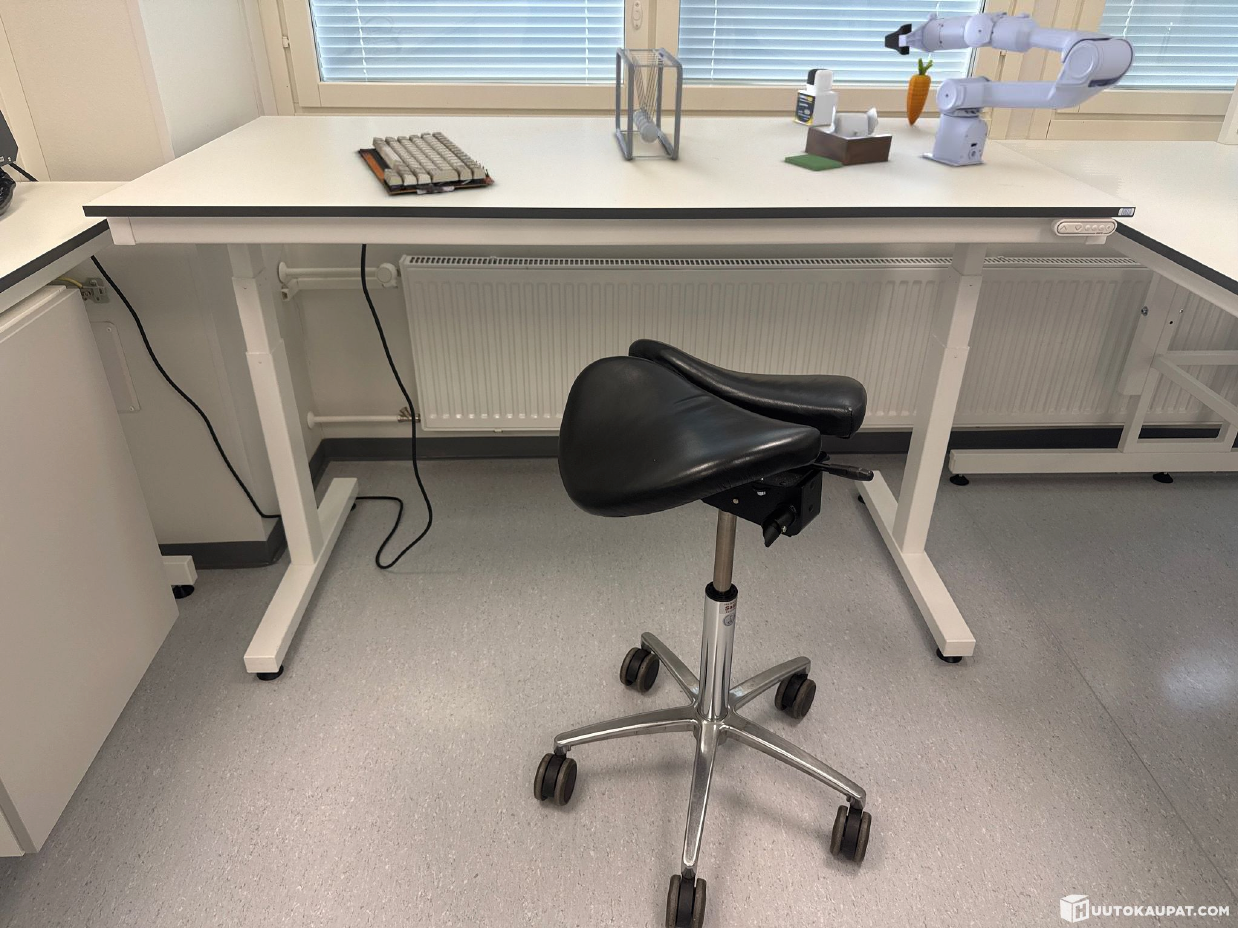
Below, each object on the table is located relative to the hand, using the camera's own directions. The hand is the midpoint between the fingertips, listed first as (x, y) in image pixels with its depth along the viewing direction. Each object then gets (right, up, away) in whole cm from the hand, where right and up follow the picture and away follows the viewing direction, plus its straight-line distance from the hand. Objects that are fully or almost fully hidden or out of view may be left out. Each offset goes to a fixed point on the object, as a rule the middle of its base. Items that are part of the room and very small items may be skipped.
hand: (899, 39), depth 174 cm
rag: (-21, -30, -9) cm, 38 cm away
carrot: (+12, -8, +27) cm, 30 cm away
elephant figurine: (-11, -23, +2) cm, 26 cm away
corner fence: (-12, -26, -2) cm, 29 cm away
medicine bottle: (-12, -7, +28) cm, 31 cm away
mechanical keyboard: (-98, -34, -17) cm, 105 cm away
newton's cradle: (-54, -22, +3) cm, 59 cm away
